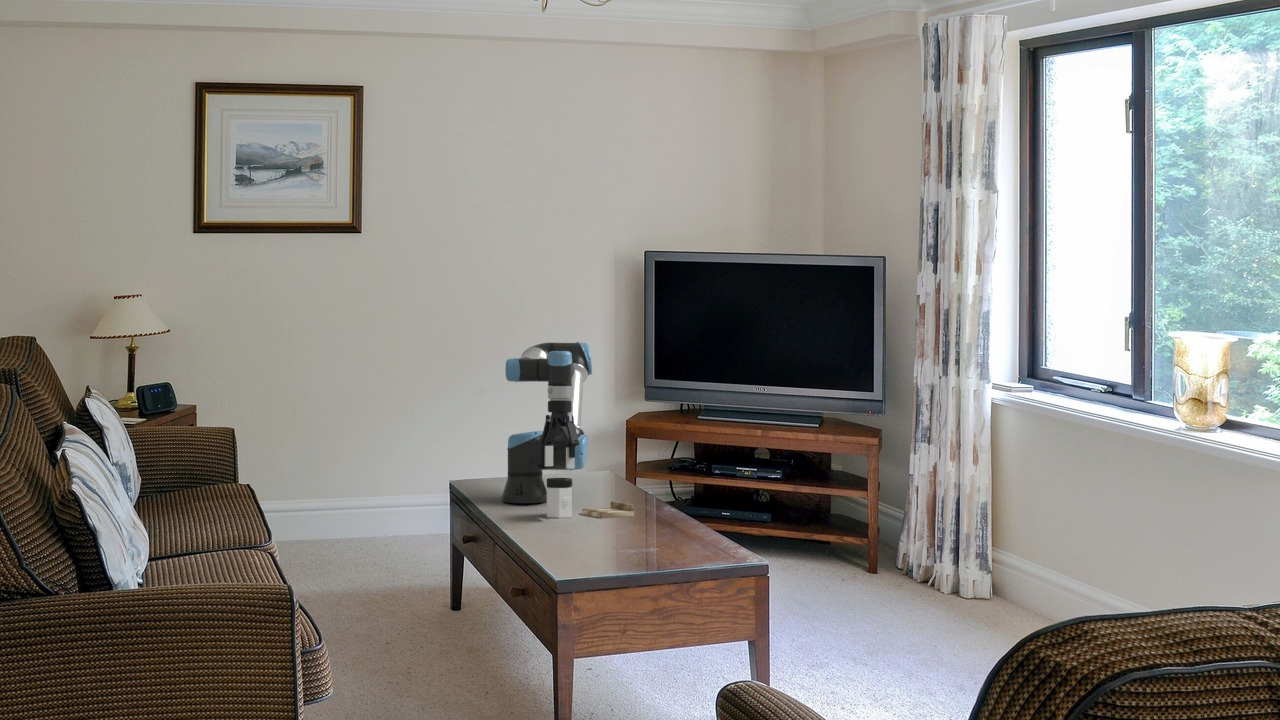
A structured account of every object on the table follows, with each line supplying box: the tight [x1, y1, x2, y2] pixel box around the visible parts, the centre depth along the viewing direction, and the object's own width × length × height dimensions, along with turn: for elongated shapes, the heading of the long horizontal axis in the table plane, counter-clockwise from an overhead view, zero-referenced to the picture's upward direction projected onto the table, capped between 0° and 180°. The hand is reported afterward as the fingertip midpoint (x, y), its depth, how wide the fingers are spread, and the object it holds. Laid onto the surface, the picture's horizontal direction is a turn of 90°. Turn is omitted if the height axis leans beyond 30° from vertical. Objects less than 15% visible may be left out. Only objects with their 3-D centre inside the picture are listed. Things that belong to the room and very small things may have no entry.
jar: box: [546, 477, 573, 519], centre depth 344 cm, size 9×8×12 cm
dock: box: [581, 501, 635, 519], centre depth 348 cm, size 12×12×4 cm
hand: (559, 467), depth 344 cm, fingers open, 13 cm apart
